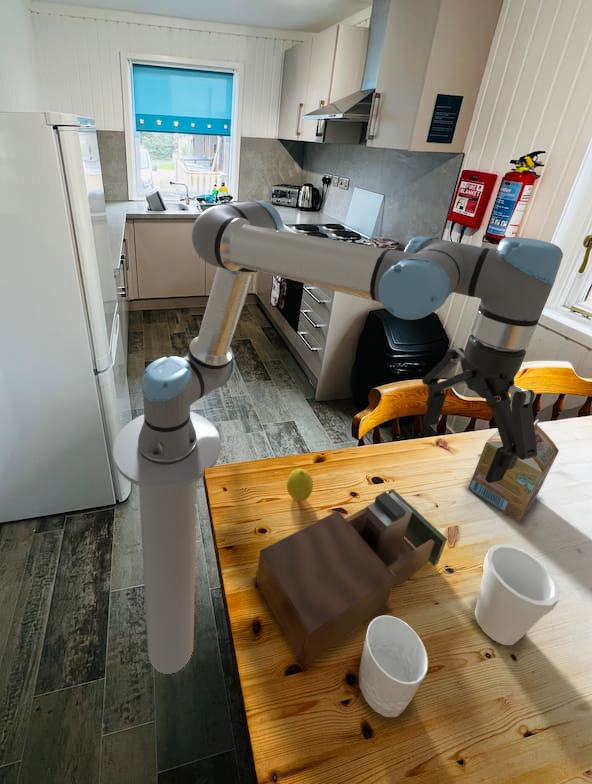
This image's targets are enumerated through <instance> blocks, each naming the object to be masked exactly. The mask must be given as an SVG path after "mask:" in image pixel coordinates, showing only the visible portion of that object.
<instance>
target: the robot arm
mask: <svg viewBox="0 0 592 784" xmlns="http://www.w3.org/2000/svg"><path fill="white" fill-rule="evenodd" d="M191 241H192V245H193V248H194V250H195V252H196V254H197V255H198V256H199V257H200V258H201V259H202V260H203V261H204V262H206V263H208V264H209V265H212V266H215V267H216V271H215V274H214V278H213V282H212V284H211V288H210V292H209V296H208V300H207V303H206V306H205V311H204V314H203V318H202V321H201V325H200V329H199V333H198V336H196V337H194V338H193V339H192V340H191V341H190V343H189V347H188V352H187V354H186V355H185V356H183V357H180V356H176V355H175V356H174V355H173V356H172V355H171V356H169V357H167V356H164V357H160V358H158V359H156V360H154V361H152V362H151V363H149V365H147V367H146V368H145V369H144V372H143V374H142V384H141V392H142V397H143V399H142V401H143V415H144V423H143V425H142V428H141V431H140V434H139V438H138V448H139V452H140V453H141V455H142V456H143V457H144V458H145V459H147V460H148V461H150V462H153V463H156V464H174V463H177V462H180V461H182V460H184V459H186V458H187V457H189V456H190V455H191V454H192V453H193V451H194V450H195V448H196V444H197V435H196V431H195V429H194V426H193V423H192V421H191V418H190V412H191V406H192V405H193V404H194V403H195V402H197V401H198V400H200V399H202V398H204V397H206V396H207V395H208V394H210V393H212V392H213V391H215V390H216V389H218V388H221V387H223V386H224V385H225V384H226V383H228V382H229V380H231V379H232V377H233V376H234V374H235V371H236V365H237V364H236V363H237V362H236V360H235V355H234V352H233V349H232V347H231V343H232V340H233V338H234V335H235V332H236V328H237V325H238V323H239V320H240V317H241V314H242V311H243V308H244V305H245V303H246V299H247V297H248V293H249V290H250V288H251V284H252V282H253V279H254V276H255V274H258V273H262V274H268V275H271V276H275V277H279V278H283V279H287V280H290V281H293V282H299V283H302V284H306V285H311V286H314V287H318V288H321V289H327V290H331V291H334V292H338V293H342V294H346V295H351V296H355V297H358V298H363V299H365V300H370V301H374V302H377V303H381V304H382V306H383V308H385V309H386V310H387V311H388V312H389V313H390V314H391V315H392V316H394V317H396V318H399V319H403V320H408V321H409V320H411V321H413V320H419V319H423V318H425V317H427V316H429V315H430V314H432V313H433V312H436V311H437V310H438V309H440V308H441V307H442V306H443V305H444V304H445V303H446V301H447V299H448V298H449V296H450V295H452V294H459V295H463V296H467V297H470V298H477V299H479V300H480V303H479V305H478V307H477V311H476V313H475V316H474V320H473V322H472V325H471V329H470V333H471V334H470V335H468V338H467V342H466V344H465V348H462V347H456V348H448V349H447V350H446V352H445V354H444V358H443V359H442V360H440V362H438V363H437V365H436V366H435V367H433V368H432V369H431V370H430V371H429V372H428V373H427V374H425V376H423V378H422V379H421V382H422V384H423V385H426V386H427V390H428V395H427V398H426V402H425V405H426V407H427V408H426V412H425V414H424V417H423V422H422V424H423V425H424V426H425V427H428V426H433V425H438V423H439V419H440V417H441V414H442V412H443V411H442V410H443V407H444V405H445V402H446V398H447V394H446V393H444V392H447V390H450V389H452V388H455V387H458V386H460V385H463V384H466V385H467V386H466V387H467V388H468V389H469V390H470V391H473V392H475V393H476V394H477V395H478V396H479V397H481V399H484V400H485V401H486V402H485V403H486V405H487V407H489V408H490V409H491V412H492V415H493V416H492V417H493V419H494V422H495V426H496V428H497V431H498V432H499V435H500V438H501V441H502V444H503V447H499V448H498V449H497V451H496V454H495V456H494V459H493V461H492V463H491V466H490V468H489V471H488V473H487V476H486V478H485V480H486V481H487V482H488V483H492V482H496V481H500V480H502V479H503V476H504V474H505V472H506V470H510V469H513V468H514V466H515V464H516V462H517V460H518V458H519V459H521V460H525V459H529V458H533V457H536V456H537V446H536V437H535V429H534V422H535V421H534V413H533V403H534V399H535V391H534V390H533V389H530V388H529V389H523V388H521V387H519V386H517V385H516V384H515V377H516V376H517V374H518V373H519V371H520V370H521V367H522V364H523V362H524V359H525V357H526V354H527V351H526V349H527V348H529V346H530V343H531V341H532V338H533V336H534V333H535V331H536V328H537V327H538V323H539V321H540V318H541V316H542V314H543V312H544V308H545V306H546V304H547V301H548V299H549V296H550V294H551V292H552V289H553V287H554V284H555V282H556V279H557V276H558V273H559V269H560V267H561V264H562V260H563V257H564V253H563V251H562V249H561V248H560V246H558V245H556V244H555V243H552V242H549V241H544V240H541V239H536V238H530V237H520V236H508V237H504V238H502V239H501V240H500V241H499V243H498V245H497V246H496V247H495V248H494V247H491V248H489V247H483V246H478V245H477V246H476V245H472V244H467V243H461V242H458V241H451V240H446V239H441V238H440V237H435V236H434V237H427V236H422V235H421V236H418V235H417V236H415V237H413V238H411V239H410V241H409V242H408V244H407V245H406V246H405V249H404V250H403V251H401V250H394V249H388V248H384V247H378V246H374V245H373V246H372V245H367V244H361V243H356V242H349V241H344V240H337V239H332V238H326V237H320V236H315V235H308V234H304V233H303V234H302V233H297V232H292V231H287V230H286V231H285V225H284V221H283V219H282V217H281V214H280V212H279V211H278V210H277V208H276V207H275V206H273V205H272V204H271V203H269V202H267V201H264V200H252V199H249V200H246V201H241V202H235V203H227V204H219V205H213V206H211V207H209V208H206V209H205V210H203V212H201V213H200V214H199V215H198V216H197V218H196V220H195V222H194V223H193V226H192V230H191ZM459 364H460V367H461V371H462V372H460V373H458V374H456V375H453V376H452V377H450V378H447V379H445V380H442V381H440V380H441V379H443V378H444V377H445V376H446V375H447V374H448V373H449V372H450V371H452V369H454V368H455V367H456V366H457V365H459ZM498 397H499V400H496V398H498Z"/></svg>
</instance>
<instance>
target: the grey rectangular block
mask: <svg viewBox="0 0 592 784" xmlns="http://www.w3.org/2000/svg"><path fill="white" fill-rule="evenodd" d="M365 508H366V511H365V515H364V519H363V523H362V527H361V531H360V534H359V535H360V536H361V537H362V538H363V540H364V541H365V542H366V543H367V544H368V545H369V546H370V547H371V549H372V550H373V551H374V552H375V553H376V554H377V555H378V557H379V558H380V559H381V560H382V561H383V562H384V563H385V564H388V563H389V562H391V561H392V560H394V559H395V558H397V557H398V555H399V551H400V548H401V545H402V542H403V539H405V533H406V530H407V527H408V523H409V520H410V517H411V514H412V511H411V510H410V509H409V508H408V507H407V506H406V505H405V504H404V503H403V502H402V501H401V500H399V499H398V498H397V497H396V496H395V495H394V494H393V493H390V494H388V492H387V491H383V492H381V493H380V494H378V495H376V496H375V498H374V501H373V502H372V503H369V504H367V505H366V507H365Z"/></svg>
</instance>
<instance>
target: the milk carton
mask: <svg viewBox="0 0 592 784" xmlns="http://www.w3.org/2000/svg"><path fill="white" fill-rule="evenodd" d="M538 424H539V419H538V418H537V419H536V420H535V421H534V429H535V437H536V446H537V456H536V457H533V458H529V459H525V460H521V459H519V458H518V460H517V462H516V464H515V466H514V468H513V469H510V470H506V472H505V474H504V476H503V479H502V480H500V481H496V482H492V483H488V482H487V481H486V480H485V478H486V476H487V473H488V471H489V468H490V466H491V463H492V461H493V459H494V456H495V454H496V451H497V449H498V448H499V447H503V444H502V441H501V438H500V435H499V432H498V430H496V432H495V433H493V434H492V435H491V437H489V438H488V439H487V440H486V441H485V443H484V446H483V448H482V452H481V454H480V457H479V459H478V462H477V464H476V467H475V470H474V472H473V474H472V477H471V480H470V483H469V485H468V488H467V489H468V490H469V491H471V492H472V493H473V494H475V495H477V496H478V497H480V498H481V499H482V500H484V501H486V502H488V503H489V504H491V505H493V506H494V507H495V508H497V509H498V510H500V511H502V512H503V513H505V515H508V516H509V517H511V518H512V519H514V520H516V521H517V522H520V521H522V519H523V518H524V516H525V514H526V513H527V512H528V510H529V509H530V508H531V506H532V504H533V503H534V501H535V500H536V499H537V497H538V495H539V493H540V491H541V489H542V487H543V485H544V483H545V481H546V479H547V476H548V474H549V472H550V470H551V468H552V466H553V464H554V462H555V460H556V458H557V456H558V454H559V451H560V450H559V449H558V447H557V446H556V444H555V442H554V441H553V440H552V439H551V438H550V436H549V435H548V434H547V433H546V432H545V430H543V429H542V428H541V427H540V426H539V425H538Z"/></svg>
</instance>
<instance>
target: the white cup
mask: <svg viewBox="0 0 592 784" xmlns="http://www.w3.org/2000/svg"><path fill="white" fill-rule="evenodd" d="M363 643H364V644H363V648H362V652H361V658H360V663H359V664H360V665H359V669H358V673H357V674H358V686H359V689H360V691H361V694H362V696H363V698H364V700H365V702H366V703H367V704H368V705H369V706H370V707H371V708H372V710H373V711H374V712H375V713H377V714H379V715H381V716H383V717H384V718H397V717H399V716H400V715H401V714H402V713H403V712H404V711H405V710H406V708H407V706H408V705H409V704H410V703H411V701H412V700H413V698H414V697H415V695H416V693H417V692H418V690H419V688H420V686H421V684H422V683H423V681H424V679H425V677H426V675H427V673H428V669H429V657H428V653H427V649H426V647H425V645H424V643H423V641H422V639H421V638H420V636H419V635H418V633H417V632H416V631H415V630H414V629H413V628H412V627H411V626H410V625H409V624H408V623H406V622H405V621H404V620H402V619H400V618H398V617H395V616H392V615H380V616H377V617H375V618H374V619H372V621H370V622H369V625H368V627H367V629H366V635H365V639H364V642H363Z"/></svg>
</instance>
